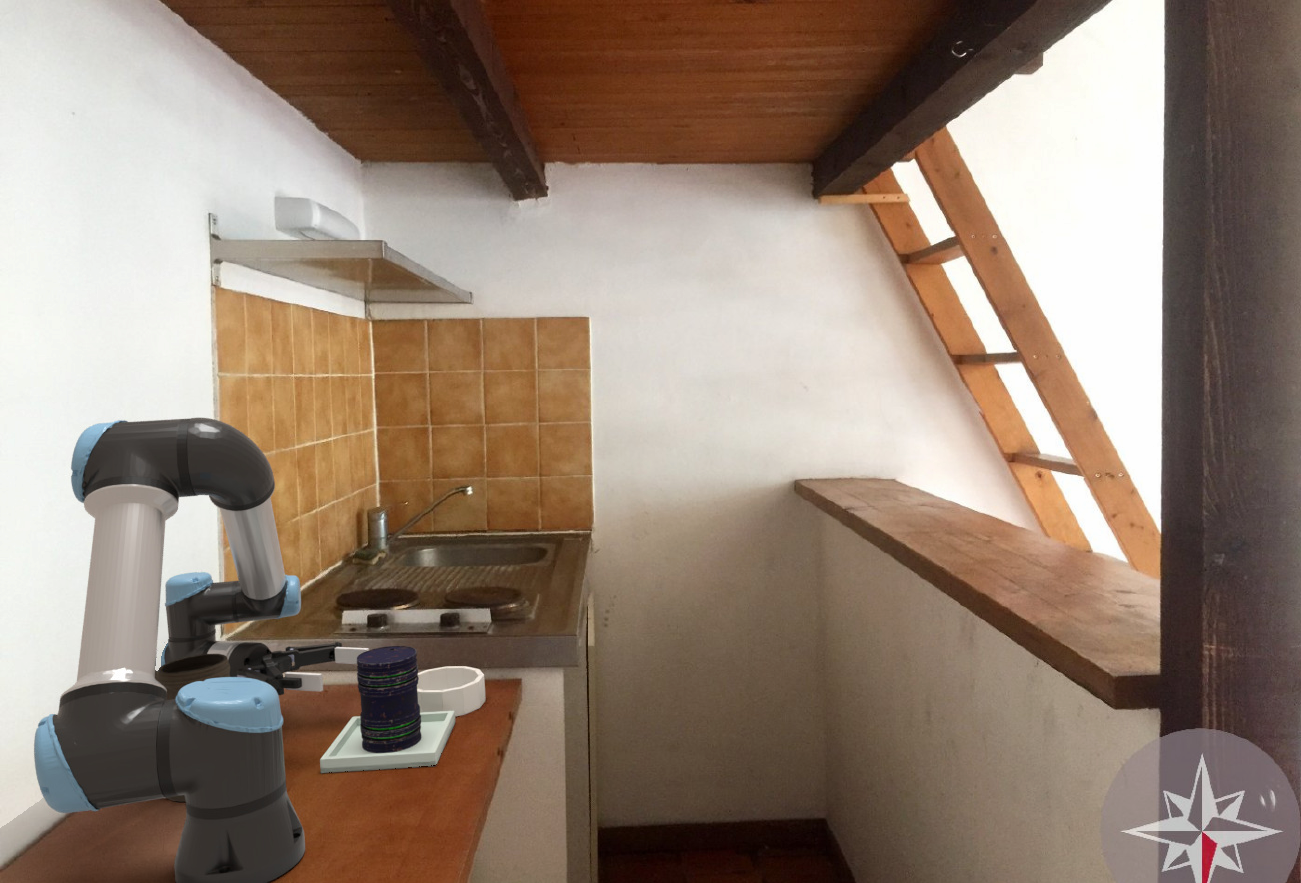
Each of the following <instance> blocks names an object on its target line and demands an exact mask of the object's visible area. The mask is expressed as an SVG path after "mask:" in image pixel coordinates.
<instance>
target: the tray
mask: <svg viewBox="0 0 1301 883" xmlns="http://www.w3.org/2000/svg"><path fill="white" fill-rule="evenodd" d="M420 715H421V730H420V732H421V740H420V742H419V743H417V744H416V745H414V746H412V747H410V748H408V749H405V750H402V751H398V752H393V753H371V752H367V751H365V750H364V749H363V748H362V741H363V739H362V735H361V734H362V733H361V730H360V724H361V720H360V715H359V716H358V715H357V716H352V717H351V718H350V720H349V721H348V722H347V723H346V725H345V726H344V727H343V729H342V730H341V732H340V733H339V734H338V735H337V737H336V738H335V739H334V740H333V742H332V743H331V745H330V746H329V747H328V749H327V750H326V751H325V752H324V754H323V755H322V756H321V758H320V759H319V763H320V764H319V766H320V774H330V773H331V772H332V773H343V772H345V771H346V772H345V773H347V771H348V772H360V771H361V772H362V771H363V770H364V771H376V770H378V771H379V769H380V770H395V768H396V769H409V768H408V767H412V768H422V767H421V766H428V767H434V766H433V765H436V764H437V765H438V762H439V760H440V758H441V756H442V754H443V751H444V749H445V747H446V745H447V742H448V740H449V738H450V736H451V733H452V731H453V729H454V726H456V725H455V724H456V717H455V711H438V712H422V713H420ZM441 753H442V754H441ZM431 765H432V766H431ZM437 765H436V766H437ZM419 766H420V767H419ZM329 772H330V773H329Z"/></svg>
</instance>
